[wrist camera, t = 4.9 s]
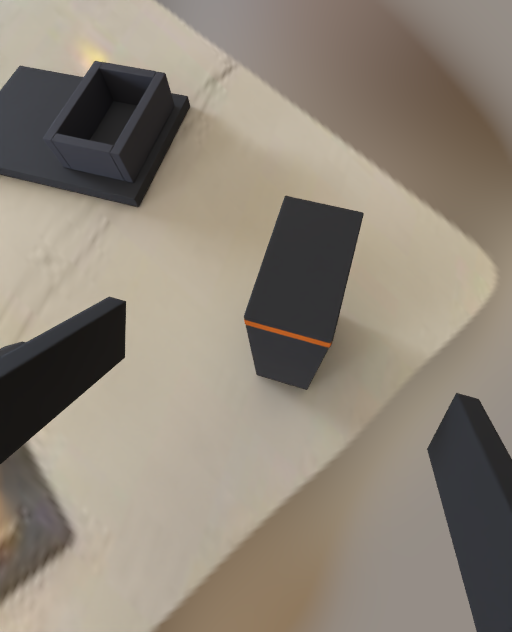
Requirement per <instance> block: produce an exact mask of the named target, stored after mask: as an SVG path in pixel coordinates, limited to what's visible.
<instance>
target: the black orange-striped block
mask: <svg viewBox="0 0 512 632" xmlns="http://www.w3.org/2000/svg"><path fill="white" fill-rule="evenodd" d="M362 218H363V213H362V212H358V211H353V210H349V209H344V208H339V207H335V206H330V205H325V204H321V203H316V202H312V201H307V200H302V199H298V198H293V197H289V196H285V198H284V200H283V203H282V206H281V209H280V212H279V215H278V218H277V221H276V224H275V227H274V230H273V233H272V236H271V239H270V241H269V244H268V247H267V250H266V253H265V256H264V259H263V262H262V265H261V268H260V271H259V274H258V277H257V279H256V282H255V285H254V288H253V291H252V294H251V297H250V300H249V303H248V306H247V309H246V312H245V315H244V321H245V324H246V328H247V333H248V337H249V342H250V346H251V351H252V356H253V360H254V365H255V369H256V374H257V375H259V376H262V377H266V378H269V379H272V380H276V381H279V382H282V383H286V384H289V385H293V386H296V387H299V388H303V389H306V390H307V389H308V387H309V385H310V383H311V381H312V379H313V377H314V375H315V373H316V371H317V370H318V368H319V366H320V364H321V362H322V360H323V358H324V356H325V354H326V352H327V350H328V349H329V347H330V346H331V344H332V341H333V337H334V333H335V329H336V325H337V321H338V317H339V313H340V309H341V305H342V300H343V296H344V292H345V288H346V284H347V280H348V276H349V272H350V268H351V264H352V259H353V255H354V251H355V247H356V243H357V239H358V235H359V231H360V227H361V222H362Z"/></svg>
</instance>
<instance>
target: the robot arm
mask: <svg viewBox="0 0 512 632" xmlns="http://www.w3.org/2000/svg"><path fill="white" fill-rule="evenodd" d="M125 325H126V301H123V300H119V299H116V298H112V297H108V298H106V299H104V300H102V301H101V302H99V303H97V304H95V305H93V306H92V307H90V308H88V309H86V310H84V311H82V312H81V313H79V314H77V315H75V316H73V317H72V318H70V319H68V320H66V321H64V322H62V323H61V324H59V325H57V326H55V327H53V328H51V329H50V330H48V331H46V332H44V333H42V334H41V335H39V336H37V337H35V338H33V339H31V340H30V341H28V342H26V343H25V342H19V343H16V344H12V345H9V346H5V347H3V348H1V349H0V464H1V463H2V462H4V461H5V460H6V459H7V458H8V457H9V456H11V455H12V454H13V453H14V452H15V451H16V450H18V449H19V448H20V447H21V446H22V445H23V444H24V443H26V442H27V441H28V440H29V439H30V438H31V437H33V436H34V435H35V434H36V433H37V432H38V431H40V430H41V429H42V428H43V427H44V426H45V425H47V424H48V423H49V422H50V421H51V420H52V419H54V418H55V417H56V416H57V415H58V414H59V413H61V412H62V411H63V410H64V409H65V408H66V407H68V406H69V405H70V404H71V403H72V402H73V401H75V400H76V399H77V398H78V397H79V396H80V395H82V394H83V393H84V392H85V391H86V390H87V389H89V388H90V387H91V386H92V385H93V384H94V383H96V382H97V381H98V380H99V379H100V378H101V377H103V376H104V375H105V374H106V373H107V372H108V371H110V370H111V369H112V368H113V367H114V366H115V365H117V364H118V363H119V362H120V361H121V360H122V359H124V358H125ZM427 450H428V453H429V457H430V461H431V465H432V468H433V472H434V475H435V479H436V483H437V487H438V490H439V494H440V498H441V501H442V505H443V509H444V512H445V516H446V520H447V523H448V527H449V531H450V534H451V538H452V542H453V545H454V549H455V553H456V556H457V560H458V564H459V568H460V571H461V575H462V579H463V582H464V586H465V590H466V593H467V597H468V601H469V604H470V608H471V611H472V615H473V619H474V623H475V626H476V630H477V632H512V459H511V457H510V455H509V454H508V452H507V450H506V448H505V446H504V444H503V443H502V441H501V439H500V437H499V435H498V433H497V432H496V430H495V428H494V426H493V424H492V422H491V421H490V419H489V417H488V415H487V414H486V412H485V410H484V408H483V406H482V404H481V402H480V401H479V399H476V398H473V397H469V396H466V395H462V394H458V393H456V395H455V397H454V399H453V400H452V402H451V404H450V406H449V409H448V410H447V412H446V414H445V416H444V418H443V420H442V422H441V423H440V425H439V427H438V429H437V431H436V433H435V435H434V437H433V439H432V441H431V443H430V445H429V447H428V448H427Z"/></svg>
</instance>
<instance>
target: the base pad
mask: <svg viewBox="0 0 512 632" xmlns="http://www.w3.org/2000/svg"><path fill="white" fill-rule="evenodd" d="M189 107H190V104H189V100H188V96H184V95H178V94H173V93H171V91H170V88H169V84H168V81H167V77H166V74H165V73H162V72H156V71H151V70H145V69H140V68H134V67H128V66H122V65H116V64H111V63H105V62H98V61H95V62H94V63H93V64H92V66H91V67H90V69H89V70H88V72H87V73H86V75H85V76H84V77H79V76H74V75H68V74H63V73H57V72H52V71H46V70H41V69H35V68H30V67H24V66H19V67H18V69H17V70H16V71H15V72H14V74H13V75H12V76H11V78H10V79H9V80H8V81H7V83H6V84H5V85H4V87H3V88H2V89H1V91H0V174H2V175H6V176H10V177H14V178H18V179H23V180H27V181H31V182H35V183H40V184H44V185H48V186H52V187H56V188H61V189H65V190H69V191H73V192H78V193H82V194H86V195H90V196H94V197H99V198H103V199H107V200H111V201H116V202H120V203H124V204H128V205H132V206H137V207H139V205H140V203H141V201H142V199H143V197H144V195H145V193H146V191H147V189H148V188H149V186H150V184H151V182H152V180H153V178H154V176H155V174H156V172H157V170H158V168H159V166H160V164H161V162H162V160H163V158H164V156H165V154H166V152H167V150H168V148H169V146H170V144H171V142H172V140H173V138H174V136H175V134H176V132H177V130H178V129H179V127H180V125H181V123H182V121H183V119H184V117H185V115H186V113H187V111H188V109H189Z"/></svg>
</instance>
